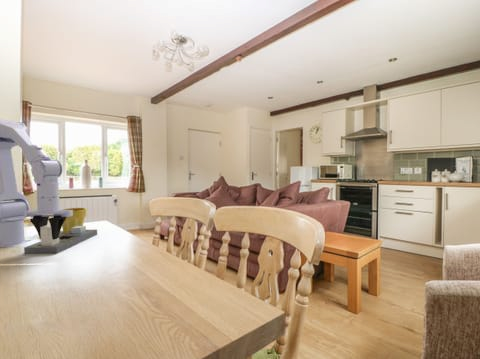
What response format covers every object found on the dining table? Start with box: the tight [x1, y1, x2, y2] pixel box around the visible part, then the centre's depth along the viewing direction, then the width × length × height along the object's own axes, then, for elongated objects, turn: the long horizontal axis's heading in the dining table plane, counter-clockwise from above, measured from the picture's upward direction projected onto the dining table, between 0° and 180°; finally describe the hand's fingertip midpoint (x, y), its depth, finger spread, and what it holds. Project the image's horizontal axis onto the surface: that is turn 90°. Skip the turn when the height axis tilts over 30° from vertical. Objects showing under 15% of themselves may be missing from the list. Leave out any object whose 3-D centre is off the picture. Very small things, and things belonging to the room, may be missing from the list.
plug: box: [40, 224, 59, 246], centre depth 85 cm, size 4×4×7 cm
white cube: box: [71, 225, 87, 234], centre depth 101 cm, size 4×4×4 cm
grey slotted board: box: [23, 229, 98, 255], centre depth 93 cm, size 10×24×2 cm, turn 1°
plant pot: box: [60, 207, 87, 233], centre depth 112 cm, size 10×10×10 cm
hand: (49, 238), depth 85 cm, fingers closed on plug, 3 cm apart
